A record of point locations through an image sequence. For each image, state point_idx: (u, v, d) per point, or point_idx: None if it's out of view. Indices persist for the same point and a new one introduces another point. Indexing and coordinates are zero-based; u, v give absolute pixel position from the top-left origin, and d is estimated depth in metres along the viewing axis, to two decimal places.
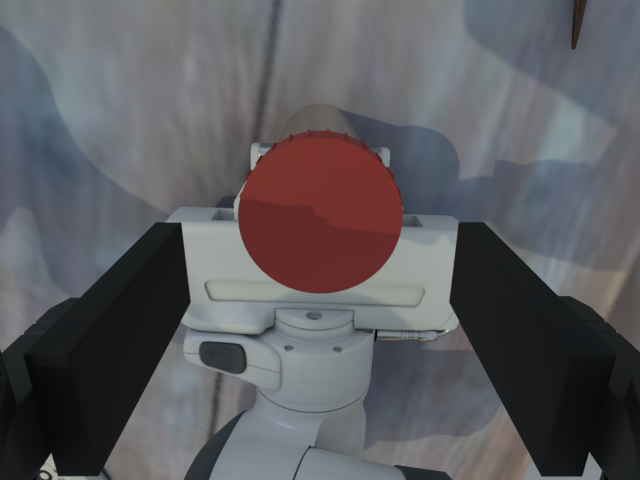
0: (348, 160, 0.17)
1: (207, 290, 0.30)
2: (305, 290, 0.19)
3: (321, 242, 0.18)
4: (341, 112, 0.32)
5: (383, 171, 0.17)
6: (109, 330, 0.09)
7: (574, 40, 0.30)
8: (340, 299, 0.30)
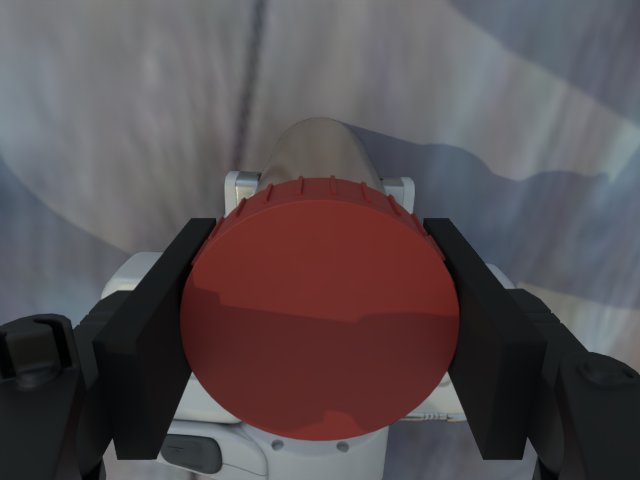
0: (369, 237, 0.09)
1: None
2: (295, 436, 0.12)
3: (321, 366, 0.11)
4: (347, 127, 0.25)
5: (430, 256, 0.10)
6: (164, 320, 0.09)
7: None
8: None
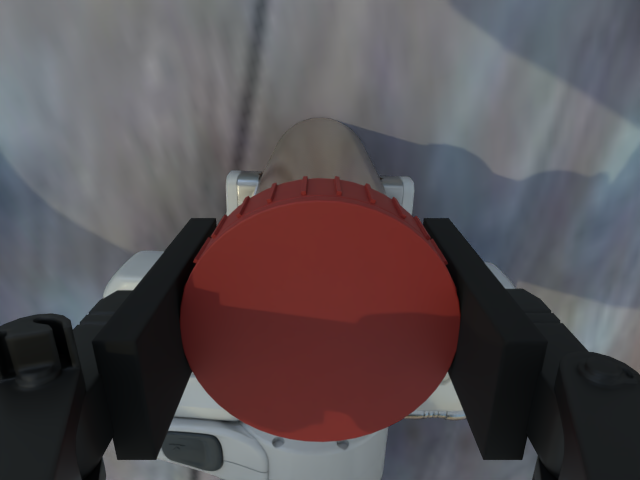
0: (214, 365, 0.11)
1: None
2: (444, 272, 0.10)
3: (348, 312, 0.10)
4: (347, 127, 0.25)
5: (184, 319, 0.10)
6: (163, 320, 0.09)
7: None
8: None
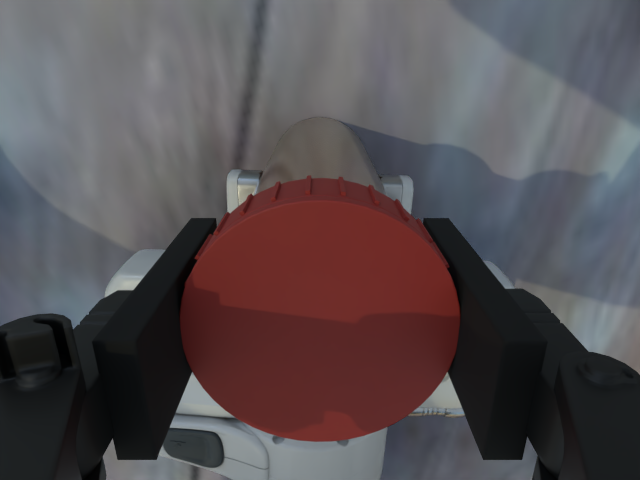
0: (413, 382, 0.11)
1: None
2: (186, 297, 0.10)
3: (281, 332, 0.10)
4: (347, 127, 0.25)
5: (387, 423, 0.11)
6: (164, 320, 0.09)
7: None
8: None
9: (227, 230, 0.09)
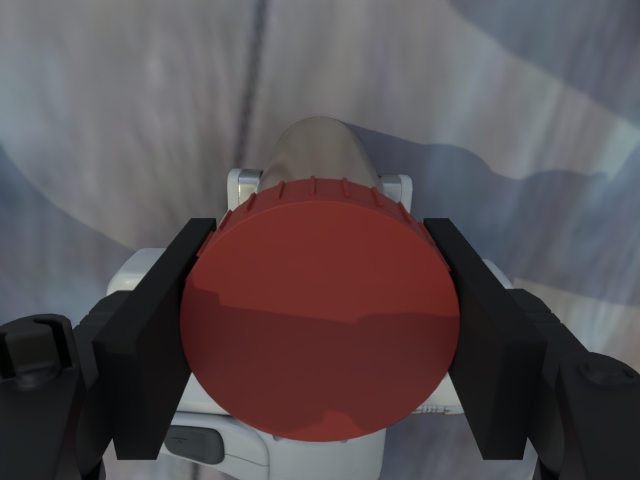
0: (295, 231, 0.09)
1: None
2: (369, 431, 0.11)
3: (342, 360, 0.11)
4: (346, 126, 0.26)
5: (359, 212, 0.09)
6: (164, 320, 0.09)
7: None
8: None
9: (295, 439, 0.12)
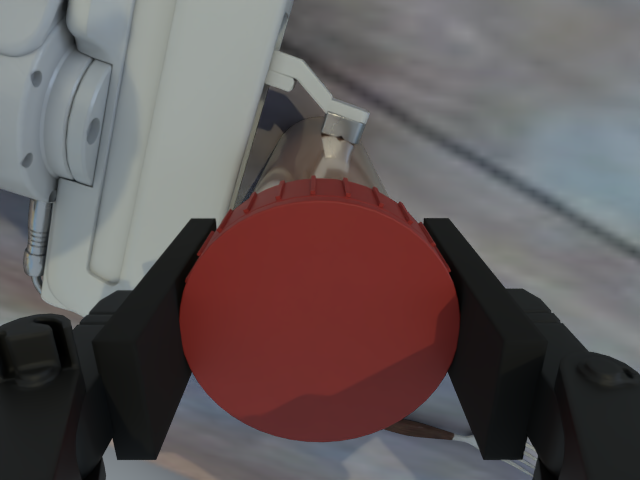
0: (295, 231, 0.09)
1: None
2: (368, 431, 0.11)
3: (342, 361, 0.11)
4: None
5: (359, 212, 0.09)
6: (163, 320, 0.09)
7: None
8: (113, 171, 0.20)
9: (294, 439, 0.12)
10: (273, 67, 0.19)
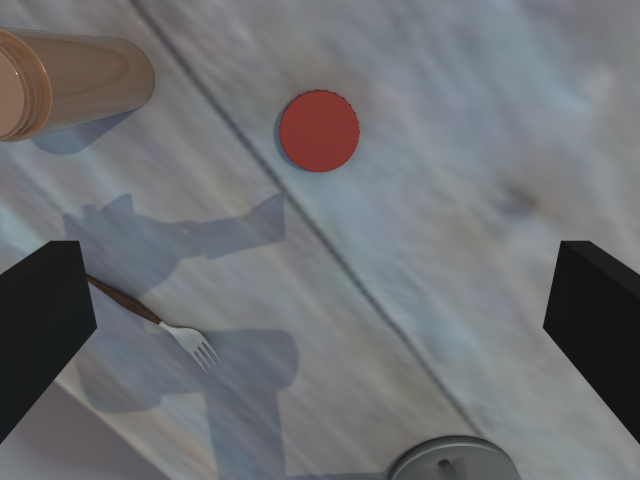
0: (312, 100, 0.36)
1: None
2: (334, 167, 0.38)
3: (326, 141, 0.37)
4: None
5: (329, 94, 0.36)
6: None
7: None
8: None
9: None
10: None
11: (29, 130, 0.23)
